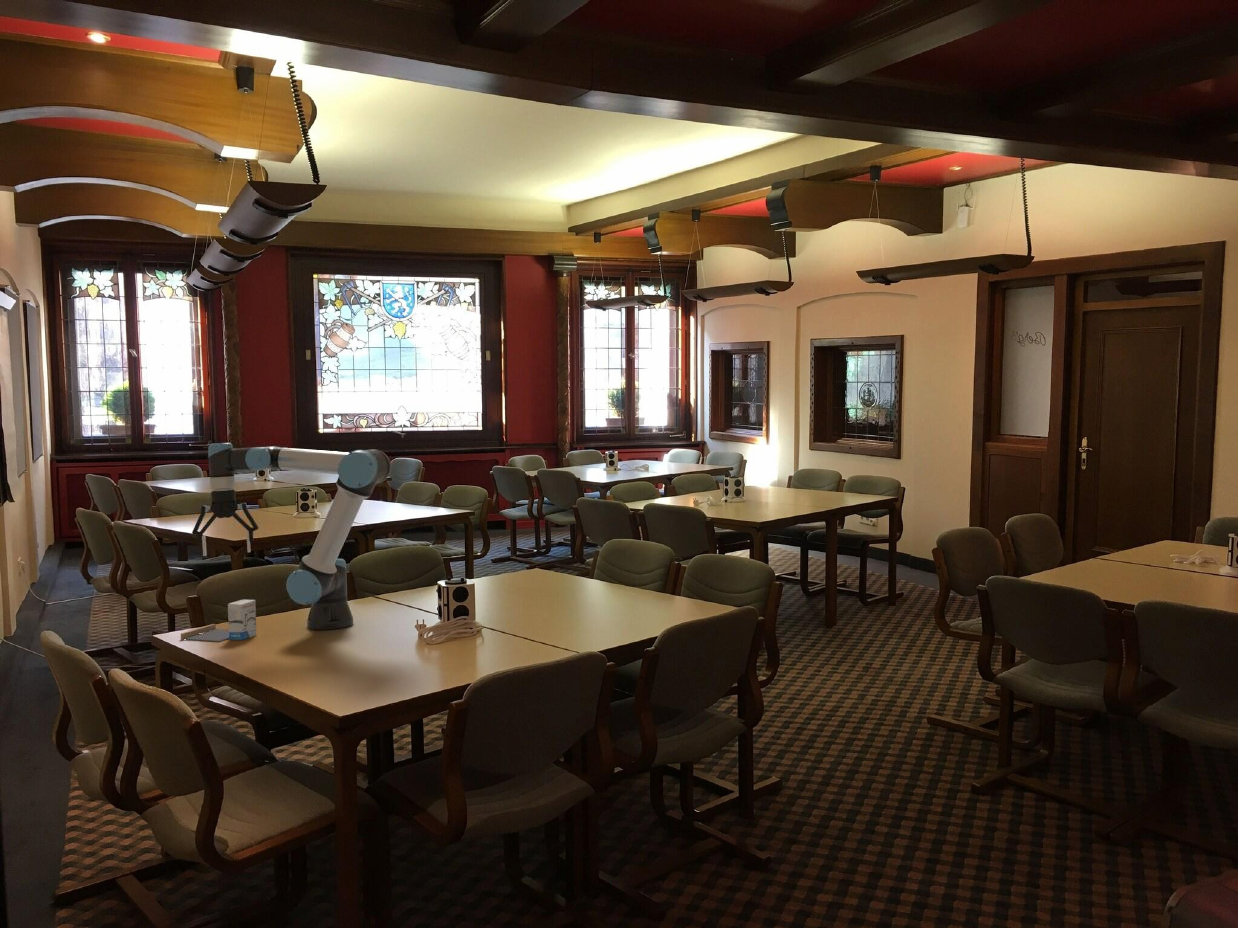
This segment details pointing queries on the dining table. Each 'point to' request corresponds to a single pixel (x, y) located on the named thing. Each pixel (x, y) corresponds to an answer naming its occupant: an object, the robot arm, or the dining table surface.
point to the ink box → (242, 619)
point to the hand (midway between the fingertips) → (227, 553)
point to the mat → (207, 634)
